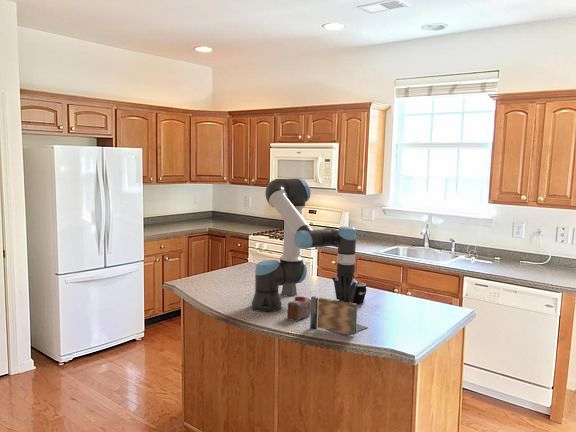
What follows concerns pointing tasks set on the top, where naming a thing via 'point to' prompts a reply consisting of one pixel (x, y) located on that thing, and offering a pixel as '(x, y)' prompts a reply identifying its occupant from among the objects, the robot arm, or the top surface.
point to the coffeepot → (289, 290)
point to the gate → (337, 315)
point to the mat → (358, 328)
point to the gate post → (314, 312)
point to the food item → (299, 308)
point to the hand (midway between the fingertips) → (343, 316)
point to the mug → (359, 293)
